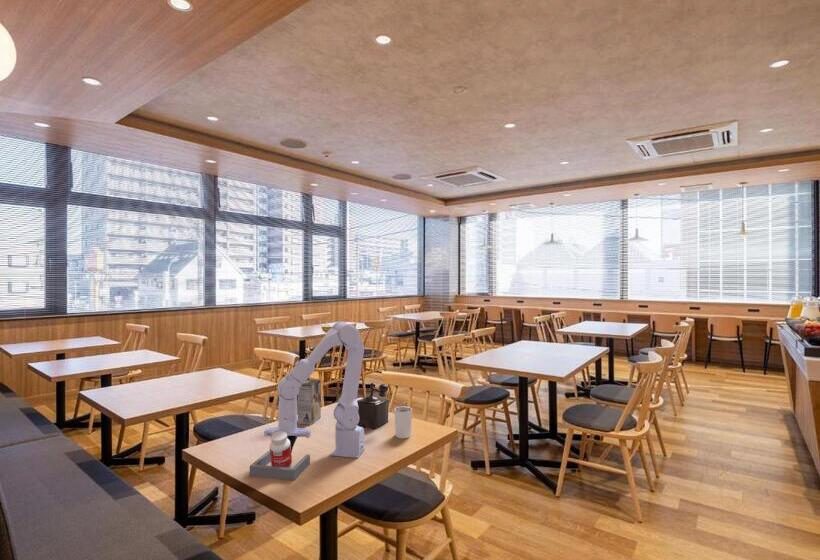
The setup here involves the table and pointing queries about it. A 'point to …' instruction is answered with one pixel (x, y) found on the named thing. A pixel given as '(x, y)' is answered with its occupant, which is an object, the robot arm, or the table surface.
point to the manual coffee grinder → (373, 409)
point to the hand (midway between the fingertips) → (287, 458)
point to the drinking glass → (403, 422)
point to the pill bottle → (280, 450)
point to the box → (278, 468)
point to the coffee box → (309, 402)
